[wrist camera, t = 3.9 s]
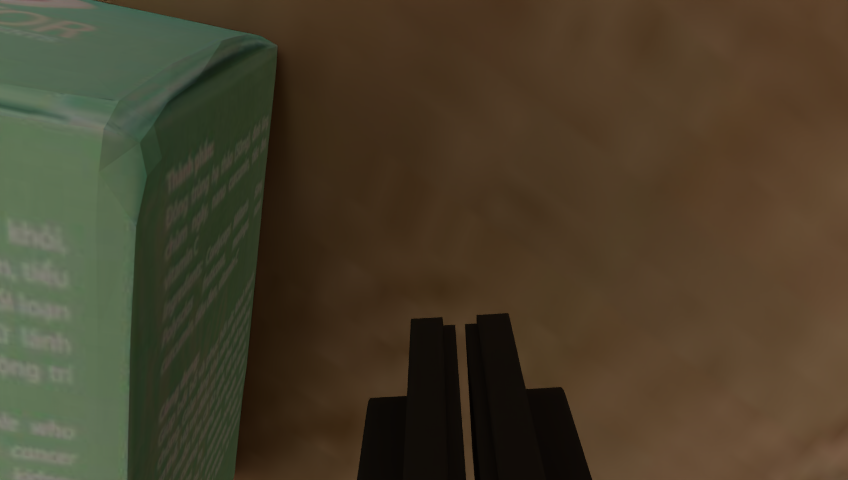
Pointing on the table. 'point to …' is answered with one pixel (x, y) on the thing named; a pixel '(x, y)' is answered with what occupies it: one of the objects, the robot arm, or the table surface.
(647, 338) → the table surface
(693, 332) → the table surface
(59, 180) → the box
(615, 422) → the table surface
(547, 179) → the table surface
